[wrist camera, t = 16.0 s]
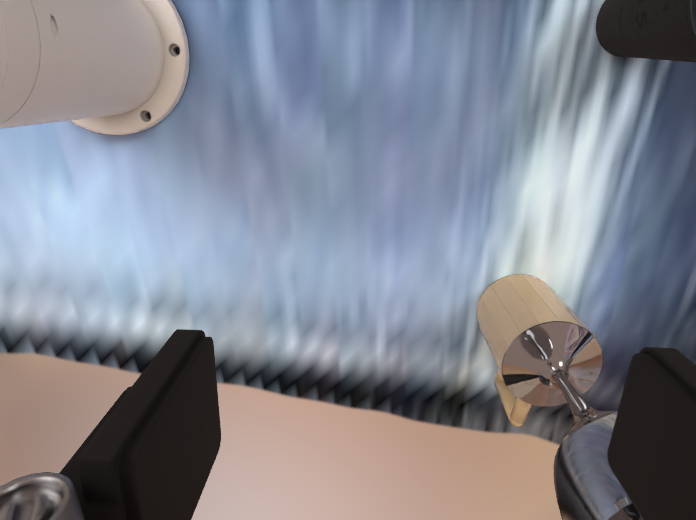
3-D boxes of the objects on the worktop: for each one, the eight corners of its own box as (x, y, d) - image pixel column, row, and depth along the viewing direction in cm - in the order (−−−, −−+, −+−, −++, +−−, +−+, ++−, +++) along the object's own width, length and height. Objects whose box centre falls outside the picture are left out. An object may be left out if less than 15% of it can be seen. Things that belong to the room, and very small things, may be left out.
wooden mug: (489, 266, 42) (521, 313, 33) (566, 282, 42) (617, 332, 34) (456, 367, 45) (477, 431, 37) (528, 381, 46) (565, 448, 37)
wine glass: (621, 387, 35) (794, 590, 21) (518, 424, 36) (613, 638, 22) (589, 298, 33) (757, 459, 19) (479, 342, 34) (559, 523, 20)
